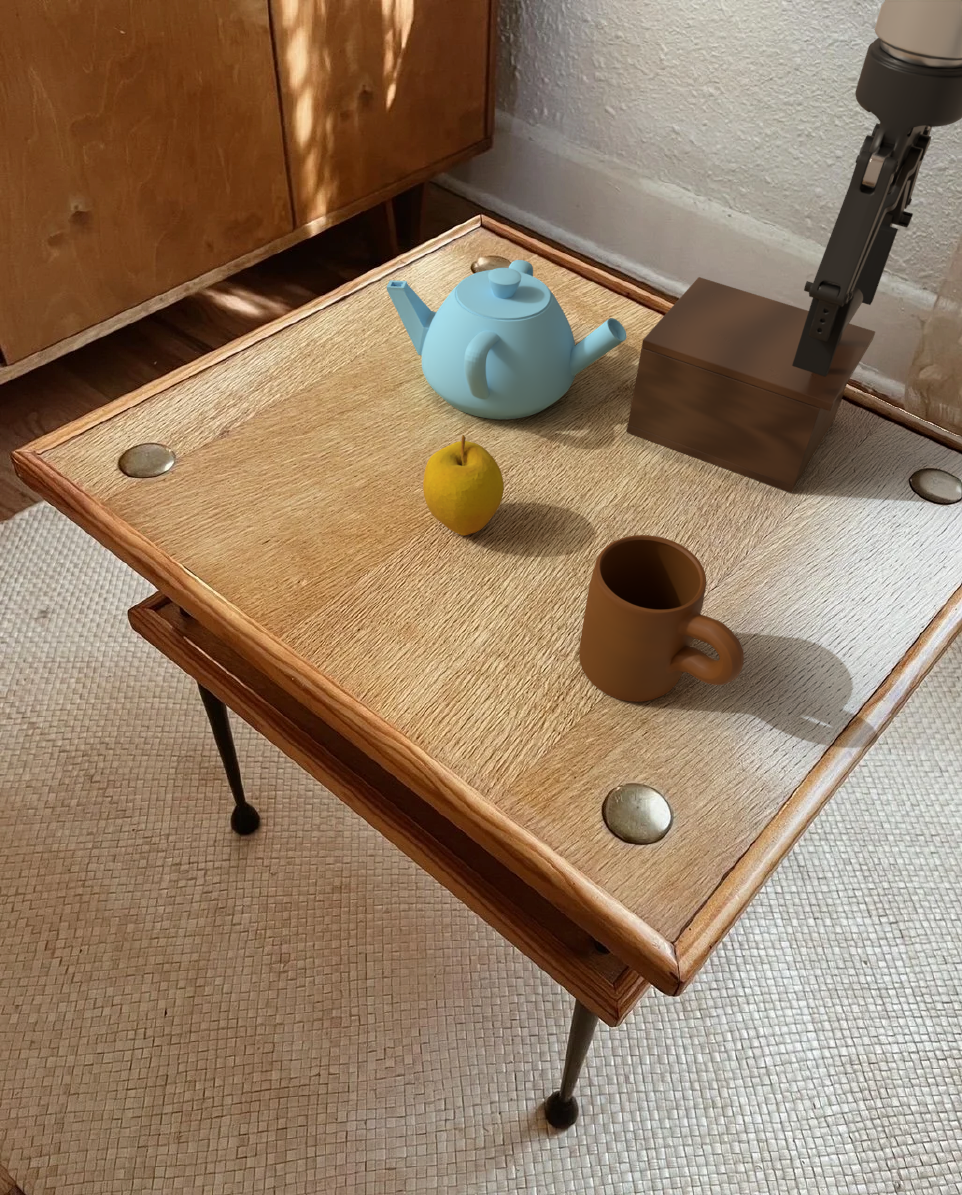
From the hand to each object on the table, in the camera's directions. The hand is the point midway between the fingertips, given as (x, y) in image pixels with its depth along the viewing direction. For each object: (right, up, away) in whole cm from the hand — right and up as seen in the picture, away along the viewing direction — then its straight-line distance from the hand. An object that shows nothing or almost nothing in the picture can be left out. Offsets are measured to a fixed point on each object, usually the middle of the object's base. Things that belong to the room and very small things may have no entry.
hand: (833, 332), depth 84 cm
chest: (-6, -6, +11) cm, 13 cm away
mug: (-17, -28, -11) cm, 34 cm away
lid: (-5, 0, +4) cm, 6 cm away
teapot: (-27, -1, +14) cm, 30 cm away
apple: (-30, -16, 0) cm, 34 cm away
